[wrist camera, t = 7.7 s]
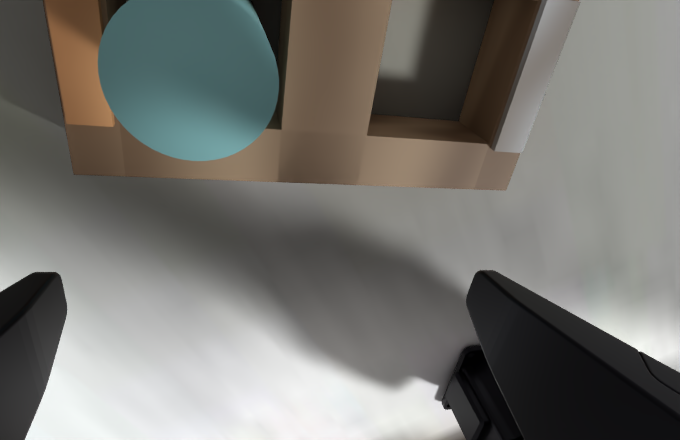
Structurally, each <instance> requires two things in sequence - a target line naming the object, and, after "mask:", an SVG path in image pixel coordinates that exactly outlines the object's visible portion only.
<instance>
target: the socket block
mask: <svg viewBox="0 0 680 440" xmlns="http://www.w3.org/2000/svg"><path fill="white" fill-rule="evenodd" d="M578 1H579V0H494V3H493V6H492V10H491V13H490V17H489V20H488V23H487V27H486V30H485V34H484V37H483V40H482V44H481V47H480V51H479V54H478V57H477V61H476V64H475V67H474V71H473V74H472V78H471V81H470V84H469V88H468V91H467V95H466V98H465V101H464V105H463V108H462V112H461V115H460V118H459V121H450V120H438V119H426V118H414V117H402V116H390V115H378V114H371V110H372V105H373V99H374V94H375V89H376V84H377V78H378V73H379V68H380V62H381V57H382V52H383V46H384V41H385V36H386V30H387V25H388V20H389V14H390V9H391V4H392V0H282V8H281V22H280V35H279V49H278V63H277V68H278V76H279V93H278V100H277V104H276V107H275V111H274V113H273V115H272V118H271V120H270V122H269V123H268V125H267V127H266V128H265V130H264V131H263V132H262V133H261V135H260V136H259V137H258V138H257V139H256V140H255V141H254V142H252V143H251V144H250V145H249V146H247V147H246V148H244V149H243V150H241V151H239V152H237V153H235V154H233V155H230V156H227V157H224V158H220V159H216V160H209V161H190V160H182V159H178V158H173V157H170V156H167V155H164V154H162V153H160V152H158V151H155V150H153V149H151V148H150V147H148V146H146V145H145V144H143V143H142V142H140V141H139V140H138V139H136V138H135V137H134V136H133V135H132V134H131V133H130V132H128V131H127V130H126V129H125V128H124V126H123V125H122V124H121V123H120V122H119V120H118V119H117V118H116V116H115V115H114V113H113V112H112V110H111V109H110V107H109V105H108V103H107V101H106V99H105V97H104V94H103V91H102V88H101V85H100V80H99V74H98V51H99V46H100V42H101V38H102V35H103V33H104V30H105V28H106V26H107V24H108V23H109V21H110V20H111V18H112V16H113V15H114V14H115V13H116V12H117V11H118V9H119V8H120V7H121V6H123V5H124V4H125V3H126V0H43V5H44V10H45V16H46V22H47V27H48V33H49V38H50V44H51V50H52V55H53V61H54V67H55V72H56V78H57V83H58V89H59V95H60V100H61V106H62V111H63V117H64V123H65V128H66V134H67V139H68V145H69V151H70V156H71V162H72V168H73V173H74V175H101V176H128V177H155V178H182V179H209V180H236V181H263V182H290V183H317V184H344V185H371V186H398V187H425V188H452V189H479V190H506V189H507V187H508V184H509V181H510V179H511V176H512V174H513V171H514V168H515V166H516V163H517V161H518V158H519V155H520V153H522V152H523V150H524V147H525V145H526V142H527V139H528V137H529V134H530V132H531V129H532V126H533V124H534V121H535V119H536V116H537V113H538V111H539V108H540V106H541V103H542V100H543V98H544V95H545V93H546V90H547V88H548V85H549V82H550V80H551V77H552V75H553V72H554V69H555V67H556V64H557V62H558V59H559V56H560V54H561V51H562V49H563V46H564V43H565V41H566V38H567V36H568V33H569V30H570V28H571V25H572V23H573V20H574V17H575V15H576V12H577V10H578V7H579V5H580V2H578Z"/></svg>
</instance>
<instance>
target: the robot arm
mask: <svg viewBox="0 0 680 440" xmlns="http://www.w3.org/2000/svg"><path fill="white" fill-rule="evenodd" d="M466 304H467V308H468V311H469V314H470V317H471V319H472V322H473V325H474V328H475V330H476V333H477V336H478V339H479V341H480V344H481V346H470V347H467V348H465V349H464V350H463V352H462V354H461V356H460V359H459V361H458V364H457V366H456V368H455V371H454V373H453V376H452V378H451V381H450V383H449V385H448V388H447V390H446V393H445V395H444V398H443V400H442V405H443V407H444V409H446V410H448V409H452V411H453V413H454V415H455V417H456V420H457V422H458V424H459V426H460V428H461V430H462V432H463V434H464V436H465V438H466V440H680V373H679V372H678V371H676V370H674V369H672V368H670V367H668V366H666V365H665V364H663V363H661V362H659V361H657V360H655V359H653V358H652V357H650V356H648V355H646V354H644V353H643V352H638V350H637V349H635V348H633V347H632V346H630V345H628V344H626V343H624V342H623V341H621V340H619V339H617V338H615V337H614V336H612V335H610V334H608V333H606V332H605V331H603V330H601V329H599V328H597V327H595V326H594V325H592V324H590V323H588V322H586V321H585V320H583V319H581V318H579V317H577V316H576V315H574V314H572V313H570V312H568V311H567V310H565V309H563V308H561V307H559V306H557V305H556V304H554V303H552V302H550V301H548V300H547V299H545V298H543V297H541V296H539V295H538V294H536V293H534V292H532V291H530V290H529V289H527V288H525V287H523V286H521V285H520V284H518V283H516V282H514V281H512V280H510V279H509V278H507V277H505V276H503V275H501V274H500V273H498V272H496V271H493V270H480V271H478V272H477V273H476V274H475V275H474V278H473V281H472V283H471V286H470V289H469V291H468V294H467V297H466ZM66 315H67V303H66V298H65V293H64V288H63V284H62V279H61V277H60V275H59V274H58V273H56V272H34V273H32V274H30V275H28V276H26V277H25V278H23V279H21V280H20V281H18V282H16V283H15V284H13V285H11V286H10V287H8V288H6V289H5V290H3V291H1V292H0V440H25V438H26V435H27V433H28V430H29V428H30V426H31V423H32V421H33V419H34V416H35V414H36V411H37V409H38V407H39V404H40V402H41V399H42V397H43V394H44V392H45V389H46V386H47V383H48V380H49V376H50V373H51V369H52V366H53V362H54V359H55V355H56V352H57V348H58V344H59V341H60V337H61V334H62V330H63V327H64V323H65V320H66Z"/></svg>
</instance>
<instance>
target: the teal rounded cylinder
mask: <svg viewBox="0 0 680 440" xmlns="http://www.w3.org/2000/svg"><path fill="white" fill-rule="evenodd" d="M98 74H99V80H100V85H101V88H102V91H103V94H104V97H105V99H106V101H107V103H108V105H109V107H110V109H111V110H112V112H113V113H114V115H115V116H116V118H117V119H118V120H119V122H120V123H121V124H122V125H123V126H124V128H125V129H126V130H127V131H128V132H130V133H131V134H132V135H133V136H134V137H135V138H136V139H138V140H139V141H140V142H142V143H143V144H145V145H146V146H148V147H150V148H151V149H153V150H155V151H158V152H160V153H162V154H164V155H167V156H170V157H173V158H178V159H182V160H190V161H209V160H216V159H220V158H224V157H227V156H230V155H233V154H235V153H237V152H239V151H241V150H243V149H244V148H246V147H247V146H249V145H250V144H251V143H252V142H254V141H255V140H256V139H257V138H258V137H259V136H260V135H261V133H262V132H263V131H264V130H265V128H266V127H267V125H268V123H269V122H270V120H271V118H272V115H273V113H274V111H275V107H276V104H277V100H278V93H279V76H278V68H277V64H276V60H275V56H274V54H273V51H272V49H271V46H270V44H269V41H268V39H267V37H266V34H265V32H264V30H263V27H262V25H261V23H260V20H259V18H258V16H257V13H256V11H255V9H254V6H253V4H252V3H251V1H250V0H129V1H128V2H126V3H125V4H124V5H123V6H121V7H120V8H119V9H118V11H117V12H116V13H115V14H114V15H113V16H112V18H111V20H110V21H109V23H108V24H107V26H106V28H105V30H104V33H103V35H102V38H101V42H100V46H99V51H98Z"/></svg>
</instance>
